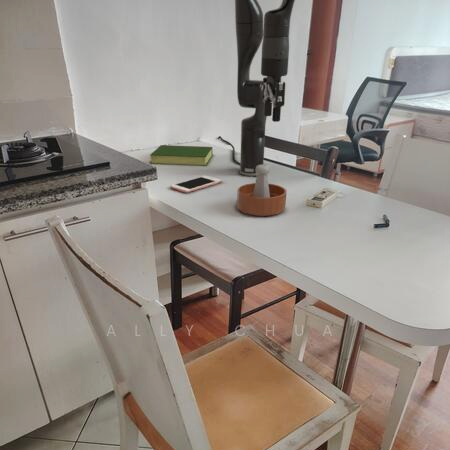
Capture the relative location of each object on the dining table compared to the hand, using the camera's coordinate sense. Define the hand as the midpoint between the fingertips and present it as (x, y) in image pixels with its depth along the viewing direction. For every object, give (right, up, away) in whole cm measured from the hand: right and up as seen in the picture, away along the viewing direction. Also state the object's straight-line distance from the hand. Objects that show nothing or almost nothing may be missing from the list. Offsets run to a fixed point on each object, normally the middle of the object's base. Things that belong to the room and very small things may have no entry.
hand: (271, 118), depth 123 cm
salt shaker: (-3, -25, +8) cm, 26 cm away
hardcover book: (-34, +9, +61) cm, 70 cm away
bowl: (-3, -25, +8) cm, 27 cm away
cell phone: (-25, -12, +28) cm, 40 cm away
